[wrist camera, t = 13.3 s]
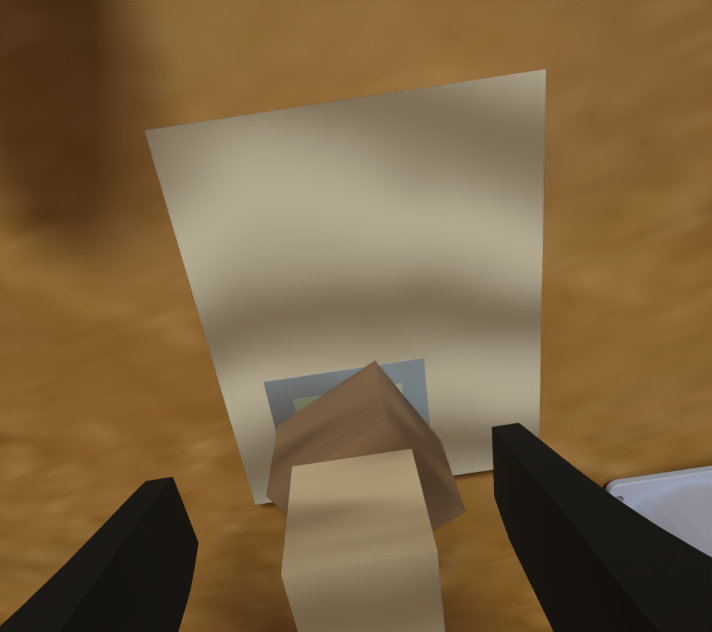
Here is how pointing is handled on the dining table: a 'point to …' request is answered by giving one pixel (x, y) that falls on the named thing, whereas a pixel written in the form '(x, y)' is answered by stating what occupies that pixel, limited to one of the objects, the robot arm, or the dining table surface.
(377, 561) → the oak cube
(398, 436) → the walnut block
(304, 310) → the base board
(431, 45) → the dining table surface
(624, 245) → the dining table surface
